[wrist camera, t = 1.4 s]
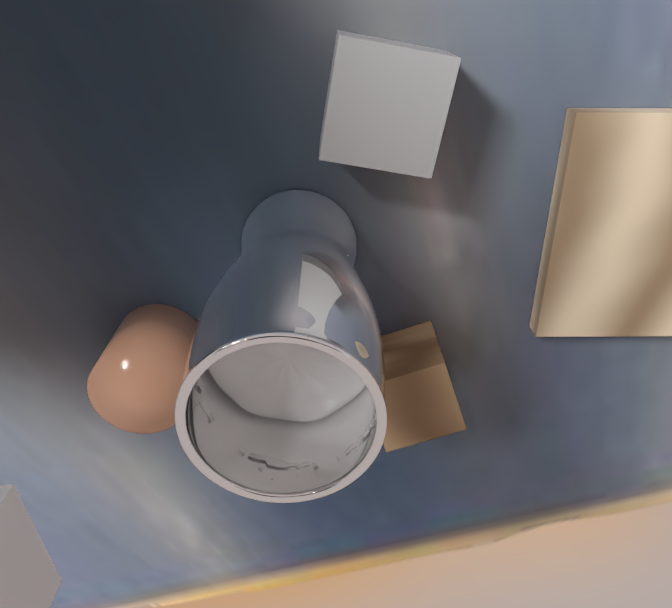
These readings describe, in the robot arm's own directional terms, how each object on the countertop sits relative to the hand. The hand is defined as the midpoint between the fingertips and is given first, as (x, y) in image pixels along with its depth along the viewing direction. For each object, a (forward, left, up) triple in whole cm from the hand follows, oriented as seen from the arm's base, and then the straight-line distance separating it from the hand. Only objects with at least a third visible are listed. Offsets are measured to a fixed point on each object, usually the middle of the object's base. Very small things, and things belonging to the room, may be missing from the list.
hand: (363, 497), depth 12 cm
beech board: (+17, -2, -21) cm, 27 cm away
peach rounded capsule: (-10, -9, -21) cm, 25 cm away
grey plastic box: (+2, +4, -21) cm, 22 cm away
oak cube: (+4, -11, -21) cm, 24 cm away
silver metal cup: (-2, -3, -21) cm, 22 cm away
